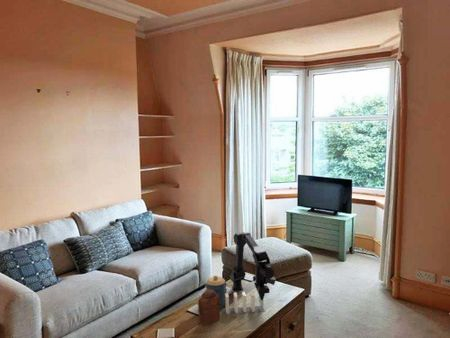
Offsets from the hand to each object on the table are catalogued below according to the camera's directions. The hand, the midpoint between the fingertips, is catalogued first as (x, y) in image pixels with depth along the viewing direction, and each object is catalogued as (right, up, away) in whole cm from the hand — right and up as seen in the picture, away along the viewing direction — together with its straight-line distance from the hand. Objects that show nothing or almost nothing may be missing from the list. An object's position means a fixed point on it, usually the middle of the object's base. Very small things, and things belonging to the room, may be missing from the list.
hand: (261, 298), depth 201 cm
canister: (-26, -7, +10) cm, 29 cm away
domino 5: (0, -4, 0) cm, 4 cm away
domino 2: (-15, -7, -1) cm, 16 cm away
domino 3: (-10, -7, 0) cm, 12 cm away
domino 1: (-20, -7, -1) cm, 21 cm away
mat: (-10, -7, 0) cm, 13 cm away
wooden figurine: (-30, -9, -11) cm, 33 cm away
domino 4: (-5, -7, 0) cm, 8 cm away
